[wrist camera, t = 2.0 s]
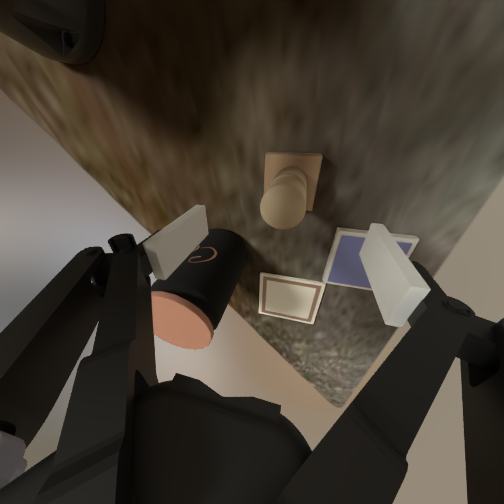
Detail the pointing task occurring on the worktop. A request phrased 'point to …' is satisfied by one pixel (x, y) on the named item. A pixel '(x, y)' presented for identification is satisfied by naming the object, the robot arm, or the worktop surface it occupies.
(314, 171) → the stamp
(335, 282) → the ink pad
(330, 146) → the worktop surface
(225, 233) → the coffee jar
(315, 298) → the print card
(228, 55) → the worktop surface
